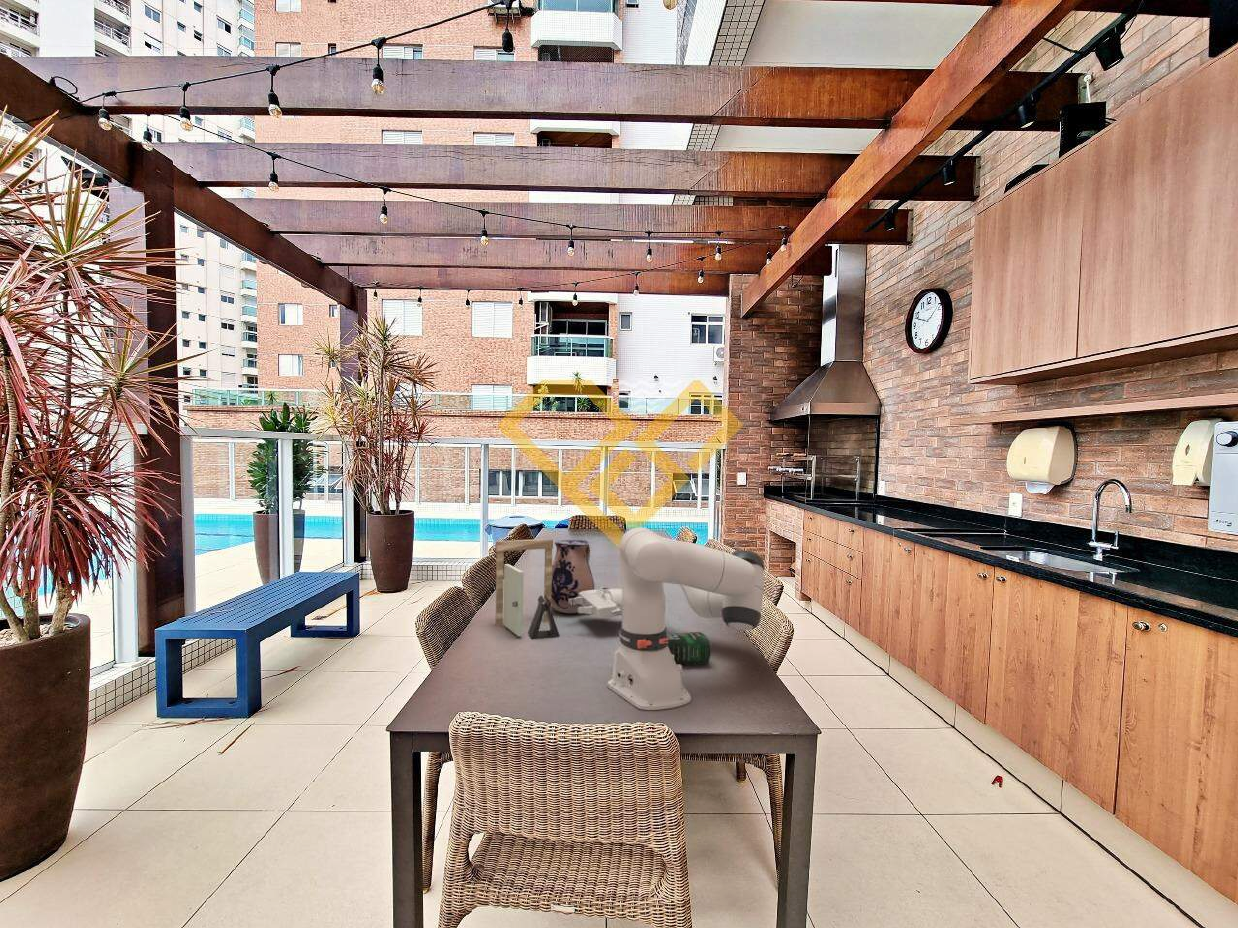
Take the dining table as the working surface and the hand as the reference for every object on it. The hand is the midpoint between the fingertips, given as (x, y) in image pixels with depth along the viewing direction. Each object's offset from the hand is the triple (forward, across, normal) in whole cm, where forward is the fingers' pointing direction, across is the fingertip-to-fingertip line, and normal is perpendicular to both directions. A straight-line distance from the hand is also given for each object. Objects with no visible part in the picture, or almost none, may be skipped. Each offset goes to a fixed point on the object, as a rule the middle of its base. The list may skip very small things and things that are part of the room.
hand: (573, 605), depth 182 cm
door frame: (+13, +13, -8) cm, 20 cm away
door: (+19, +4, -7) cm, 21 cm away
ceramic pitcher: (-7, +23, -8) cm, 25 cm away
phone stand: (+10, -1, -8) cm, 13 cm away
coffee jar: (-28, -37, -4) cm, 46 cm away
